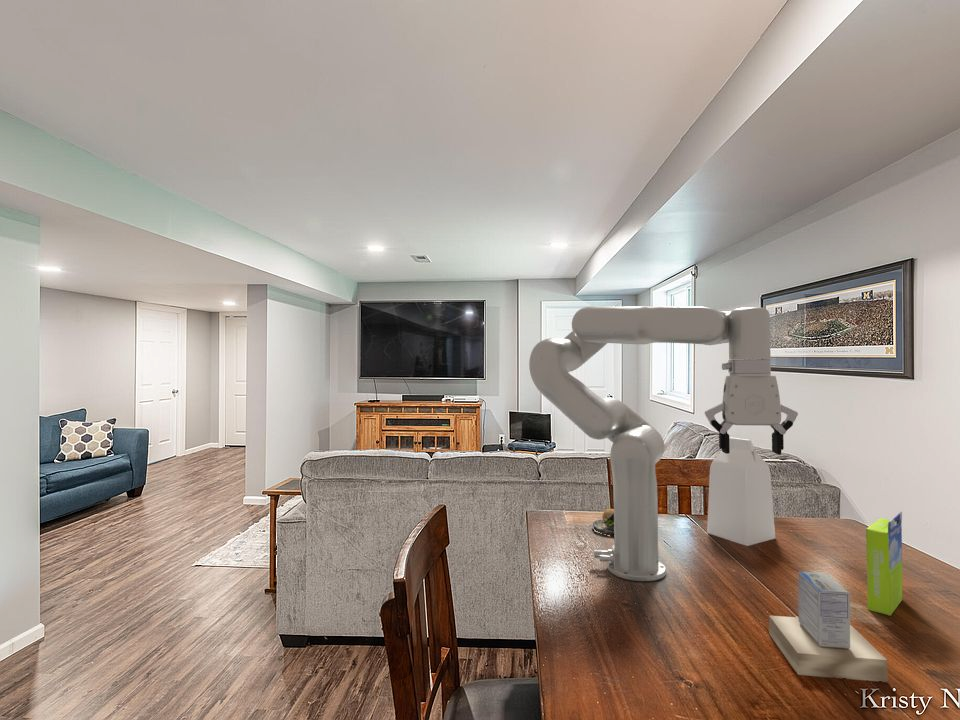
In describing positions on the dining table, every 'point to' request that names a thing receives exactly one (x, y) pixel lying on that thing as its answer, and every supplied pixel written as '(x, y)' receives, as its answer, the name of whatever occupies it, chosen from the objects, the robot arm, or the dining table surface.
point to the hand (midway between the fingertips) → (750, 452)
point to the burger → (605, 523)
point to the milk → (740, 495)
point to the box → (884, 564)
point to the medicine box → (824, 609)
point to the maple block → (827, 653)
